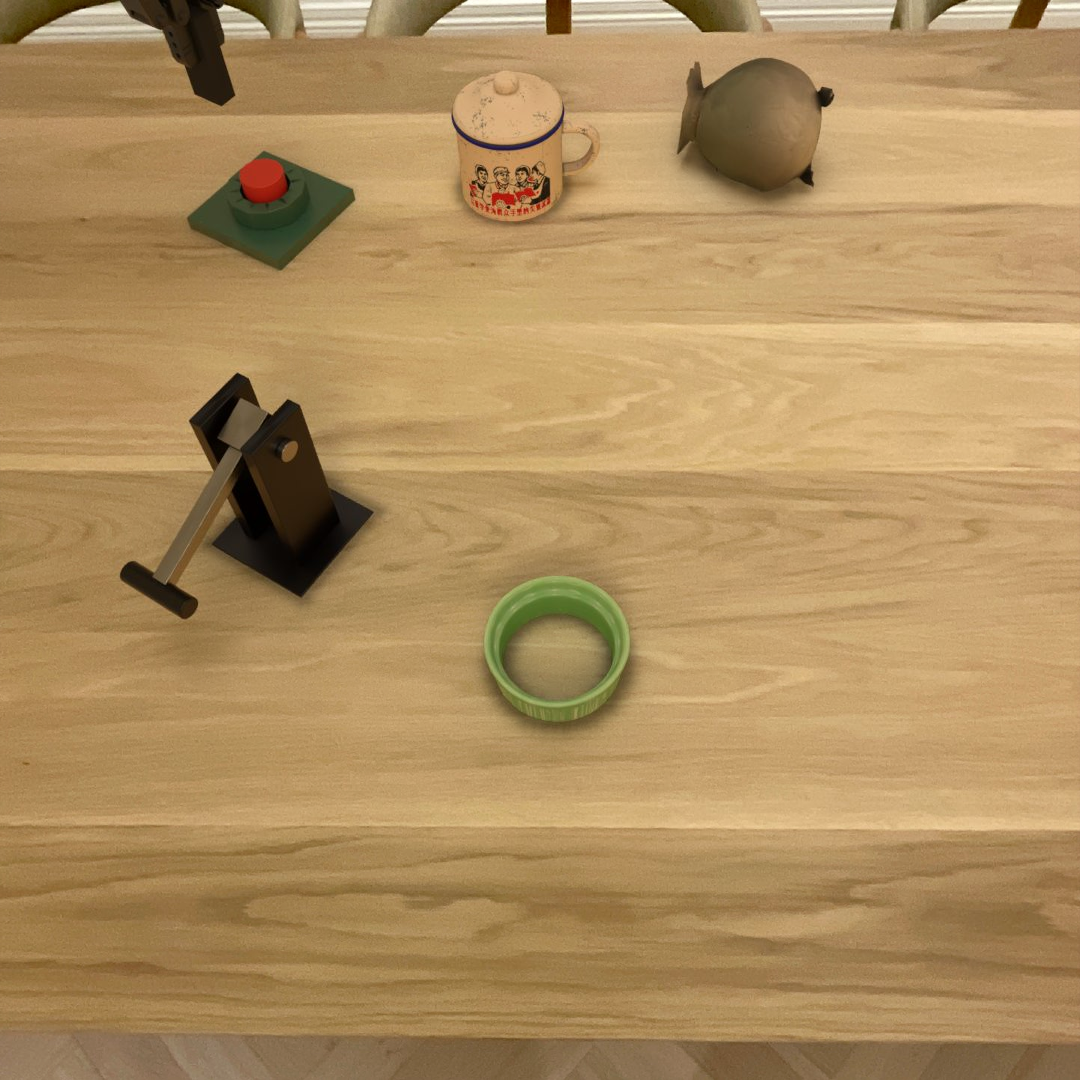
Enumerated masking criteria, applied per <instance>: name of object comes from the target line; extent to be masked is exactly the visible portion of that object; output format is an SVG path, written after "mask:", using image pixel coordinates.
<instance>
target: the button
mask: <svg viewBox="0 0 1080 1080" xmlns="http://www.w3.org/2000/svg"><path fill="white" fill-rule="evenodd" d="M241 168H242V169H241ZM241 168H240V169H241V171H240V174H239V178H240V182H241V185H242V188H243V191H244V194H245V196H246V198H247V199H248V200H249V201H251V202H253V203H269V202H271V201H274V200H277V199H280V198H281V197H282V196H283V195H284V194H285V193H286V192H287V189H288V185H287V181H286V178H285V174H284V171H283V168H282V166H281V164H280V163H278V162H277V161H275V160H272V159H257V160H254V161H252V160H251V161H250V162H247V163H246V164H245V165H243V166H242V167H241Z"/></svg>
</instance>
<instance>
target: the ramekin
mask: <svg viewBox="0 0 1080 1080" xmlns="http://www.w3.org/2000/svg"><path fill="white" fill-rule="evenodd" d="M489 614H490V615H489V617H488V618H487V620H486V624H485V627H484V632H483V642H482V643H483V652H484V653H483V654H484V658H485V661H486V664H487V666H488V669H489V671H490V673H491V674H492V677H493V678H494V679H495V680H496V683H497V687H498V688H499V690H500V691H501V693H502V696H503V697H505V698H506V700H507V701H508V702H509V703H510V704H511V705H512V706H513V707H514V708H516V709H517V710H518V711H519V712H521V713H523V714H525V715H527V716H529V717H532V718H533V719H537V720H542V721H545V722H556V723H558V722H564V723H565V722H570V721H575V720H577V719H580V718H583V717H585V716H588V715H590V714H592V713H593V712H595V711H596V710H598V709H599V708H600V707H602V705H604V704H605V703H606V702H607V701H608V699H610V697H611V696H612V694H613V693H614V692H615V690H616V689H617V685H618V683H619V682H620V678H621V674H622V673H623V672H624V670H625V667H626V664H627V662H628V659H629V654H630V650H631V632H630V628H629V627H630V626H629V624H628V620H627V618H626V615H625V614H624V612H623V611H622V608H621V607H620V606H619V604H618V602H616V600H615V599H614V598H613V597H612V596H611V595H609V593H607V592H606V591H605V590H604V589H602V588H601V587H600V586H598V585H596V584H594V583H592V582H590V581H587V580H585V579H582V578H580V577H575V576H570V575H557V574H554V575H545V576H540V577H536V578H533V579H530V580H526V581H524V582H523V583H521V584H519V585H517V586H515V587H514V588H511V590H510V591H508V592H507V593H505V595H503V596H502V597H501V598H500V600H499V601H498V602H497V603H496V604H495V606H494V607H493V609H492V610H491V612H490V613H489ZM547 615H569V616H573V617H576V618H579V619H581V620H584V621H585V622H587V623H588V624H590V625H592V626H593V627H594V628H595V629H596V630H597V631H598V632H599V633H601V635H602V636H603V638H604V639H605V641H606V643H607V645H608V647H609V650H610V654H611V666H610V668H609V670H608V672H607V673H606V675H605V676H604V677H603V679H602V680H600V682H599V683H598V684H597V685H596V686H595V687H593V688H592V689H590V690H589V691H586V692H585V693H582V694H581V695H578V696H576V697H572V698H567V699H562V700H550V699H544V698H539V697H536V696H534V695H531V694H529V693H527V692H525V691H524V690H522V689H521V688H520V687H518V686H517V685H516V684H515V683H514V682H513V681H512V680H511V679H510V677H509V676H508V673H506V671H505V669H504V654H505V651H506V648H507V646H508V643H509V641H510V640H511V639H512V637H513V636H514V634H515V633H516V632H517V631H518V630H519V629H520V628H521V627H523V626H524V625H525V624H527V623H528V622H530V621H533V620H534V619H536V618H539V617H543V616H547Z"/></svg>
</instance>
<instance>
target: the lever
mask: <svg viewBox="0 0 1080 1080" xmlns="http://www.w3.org/2000/svg"><path fill="white" fill-rule="evenodd" d="M272 415H273V414H272V413H270V412H269V411H267V410H265V409H263V408H262V407H261V408H259V407H258V406H256V405H254V404H252V403H250V402H248V401H246V400H244V399H242V398H240V400H239V401H238V403H237V405H236V406H235V408H234V410H233V412H232V413H231V415H230V417H229V418H228V420H227V422H226V423H225V425H224V427H223V428H222V430H221V432H220V433H219V435H218V437H217V438H218V439H220V440H222V441H223V442H225V443H227V444H228V445H230V446H229V448H228V449H227V451H226V453H225V454H224V456H223V458H222V459H221V461H220V463H219V464H218V466H217V468H216V470H215V471H213V473H212V475H211V477H210V478H209V479H208V480H207V481H208V482H207V483H206V484H205V486H204V488H203V490H202V491H201V494H200V495H199V497H198V498H197V500H196V502H195V503H194V505H193V507H192V508H191V510H190V512H189V514H188V515H187V517H186V519H185V520H184V521H183V524H182V525H181V527H180V529H179V530H178V532H177V534H176V536H175V537H174V539H173V541H172V543H171V544H170V545H169V547H168V549H167V551H166V552H165V554H164V556H163V558H162V559H161V561H160V563H159V564H158V566H157V567H156V569H155V571H153V570H151V569H150V568H148V567H146V566H144V564H141V563H140V562H139V561H137V560H130V561H128V562H126V563H125V564H124V565H123V567H122V568H121V570H120V571H119V579H120V581H121V582H122V583H124V584H125V585H127V586H129V587H130V588H132V589H134V590H135V591H137V592H138V593H140V594H141V595H143V596H145V597H146V598H148V599H150V600H151V601H153V602H154V603H156V604H157V605H159V606H160V607H162V608H163V609H165V610H167V611H169V612H170V613H172V614H173V615H175V616H176V617H178V618H180V619H181V620H188V619H189V618H191V617H192V616H193V615H194V614H195V613H196V611H197V610H198V607H199V600H198V598H196V597H195V596H193V595H192V594H190V593H188V592H187V591H185V590H184V589H182V588H180V587H179V586H177V584H178V582H179V581H180V579H181V577H182V575H183V573H184V572H185V570H186V569H187V567H188V566H189V564H190V562H191V560H192V558H193V557H194V555H195V554H196V552H197V550H198V549H199V546H200V545H201V544H202V542H203V540H204V538H205V537H206V534H207V533H208V531H209V530H210V528H211V526H212V524H213V523H214V521H215V520H216V517H217V516H218V514H219V512H220V511H221V509H222V508H223V506H224V504H225V502H226V501H227V500H228V499H227V497H228V495H229V494H230V492H231V490H232V489H233V487H234V485H235V484H236V482H237V480H238V478H239V477H240V475H241V473H242V472H243V470H244V468H245V467H246V465H247V464H246V462H245V459H244V457H243V455H242V453H241V450H240V448H241V447H242V446H243V445H244V444H245V443H246V442H247V441H248V440H249V439H250V438H251V436H252V435H253V434H254V433H255V432H256V431H257V430H258V429H259V428H260V427H261V426H262V425H263V424H264V423H265V422H266V421H267V420H268V419H269V418H270V417H271V416H272Z"/></svg>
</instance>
